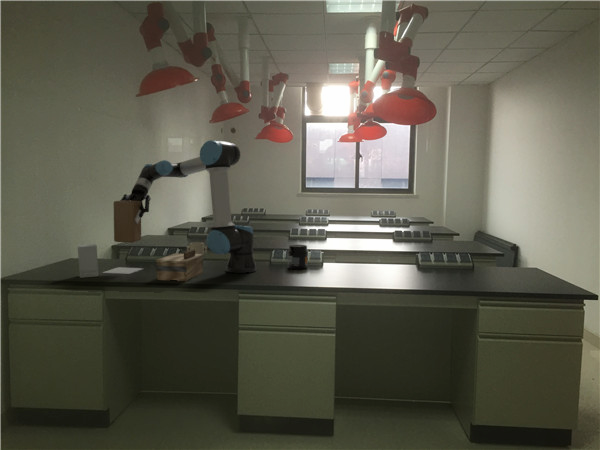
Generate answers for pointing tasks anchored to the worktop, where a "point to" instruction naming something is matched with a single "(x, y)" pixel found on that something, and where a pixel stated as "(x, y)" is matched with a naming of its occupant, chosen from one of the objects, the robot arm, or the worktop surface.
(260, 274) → the worktop surface
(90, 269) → the skincare box
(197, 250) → the character mug
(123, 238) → the wooden block
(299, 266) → the supplement container
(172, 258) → the lid
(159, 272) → the toolbox
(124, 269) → the mat
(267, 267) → the worktop surface
